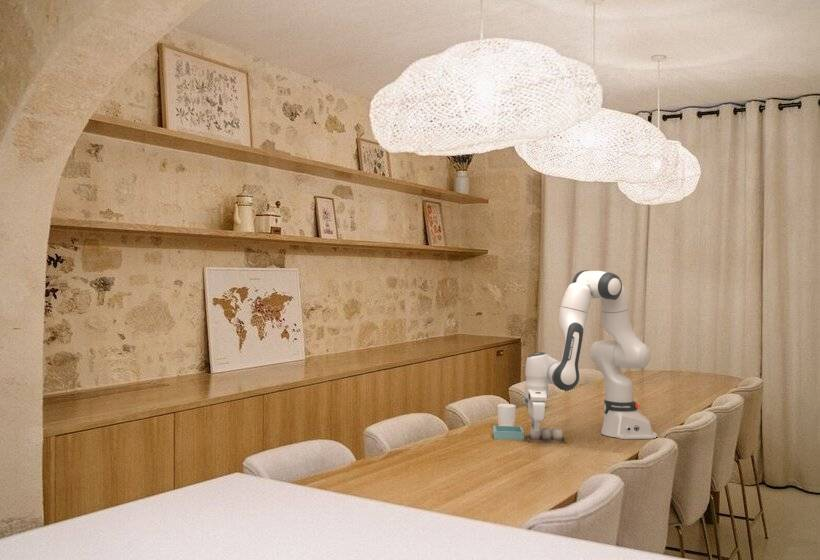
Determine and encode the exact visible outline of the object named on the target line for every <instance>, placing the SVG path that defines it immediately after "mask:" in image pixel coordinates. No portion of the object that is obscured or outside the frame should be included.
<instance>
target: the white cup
mask: <svg viewBox="0 0 820 560" xmlns="http://www.w3.org/2000/svg"><path fill="white" fill-rule="evenodd" d="M516 407H517V405H516V404H513V403H500V404H497V406H496V408H497V410H496V411H497V426H515V422H516V409H517V408H516Z"/></svg>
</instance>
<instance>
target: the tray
mask: <svg viewBox="0 0 820 560" xmlns="http://www.w3.org/2000/svg"><path fill="white" fill-rule="evenodd" d="M525 439H526V440H527V443H545V444H547V443H548V444H568V440H567V439H566V438H565V437H564V436H562V441H552V435H551V441H548V440H541V435H540V440H530V435H525Z"/></svg>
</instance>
